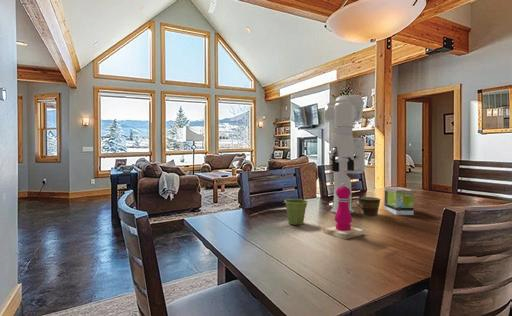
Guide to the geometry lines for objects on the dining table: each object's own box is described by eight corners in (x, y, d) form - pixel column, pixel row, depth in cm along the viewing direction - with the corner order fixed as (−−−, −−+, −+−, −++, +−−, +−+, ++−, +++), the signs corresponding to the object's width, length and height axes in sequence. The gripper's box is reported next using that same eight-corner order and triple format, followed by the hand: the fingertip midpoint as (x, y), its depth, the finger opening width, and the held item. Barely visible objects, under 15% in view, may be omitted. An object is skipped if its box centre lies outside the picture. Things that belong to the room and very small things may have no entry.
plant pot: (307, 227, 134) (307, 203, 134) (283, 225, 137) (282, 202, 136) (308, 221, 146) (308, 199, 146) (285, 220, 148) (285, 198, 148)
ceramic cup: (376, 214, 159) (376, 197, 159) (382, 218, 150) (382, 200, 149) (353, 214, 161) (353, 196, 161) (357, 218, 151) (357, 199, 151)
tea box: (414, 217, 153) (414, 190, 153) (395, 217, 154) (395, 190, 153) (400, 211, 168) (401, 186, 168) (383, 211, 169) (383, 186, 168)
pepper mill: (340, 231, 119) (340, 184, 118) (331, 227, 126) (331, 182, 125) (355, 230, 121) (355, 183, 120) (345, 226, 128) (345, 181, 127)
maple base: (323, 232, 125) (323, 227, 125) (341, 228, 131) (341, 224, 131) (345, 239, 115) (345, 234, 115) (363, 234, 121) (363, 229, 121)
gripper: (349, 132, 130) (349, 169, 131) (322, 131, 121) (322, 171, 121) (363, 131, 124) (363, 170, 124) (336, 130, 114) (336, 172, 115)
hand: (343, 171), depth 123 cm, fingers open, 9 cm apart
